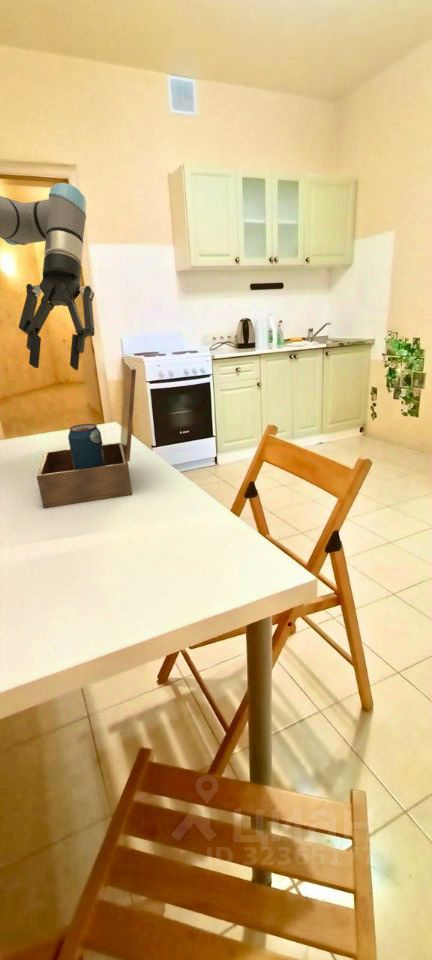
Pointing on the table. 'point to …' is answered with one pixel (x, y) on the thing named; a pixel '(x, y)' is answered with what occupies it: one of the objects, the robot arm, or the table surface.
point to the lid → (127, 409)
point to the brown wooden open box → (82, 478)
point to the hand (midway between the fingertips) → (53, 366)
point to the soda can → (86, 446)
